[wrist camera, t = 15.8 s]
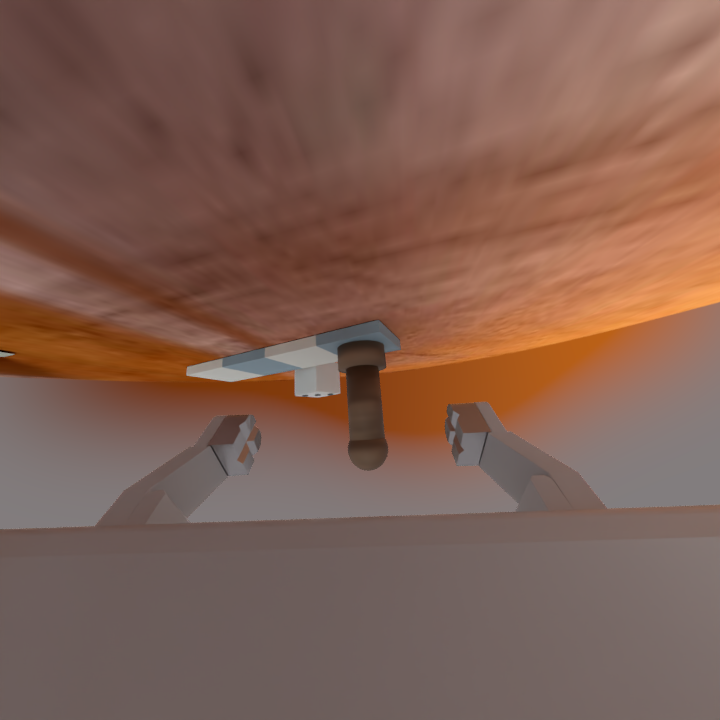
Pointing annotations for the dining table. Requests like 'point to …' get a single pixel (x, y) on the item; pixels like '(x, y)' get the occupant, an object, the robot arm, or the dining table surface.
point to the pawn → (364, 401)
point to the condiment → (5, 354)
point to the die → (317, 381)
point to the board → (293, 354)
